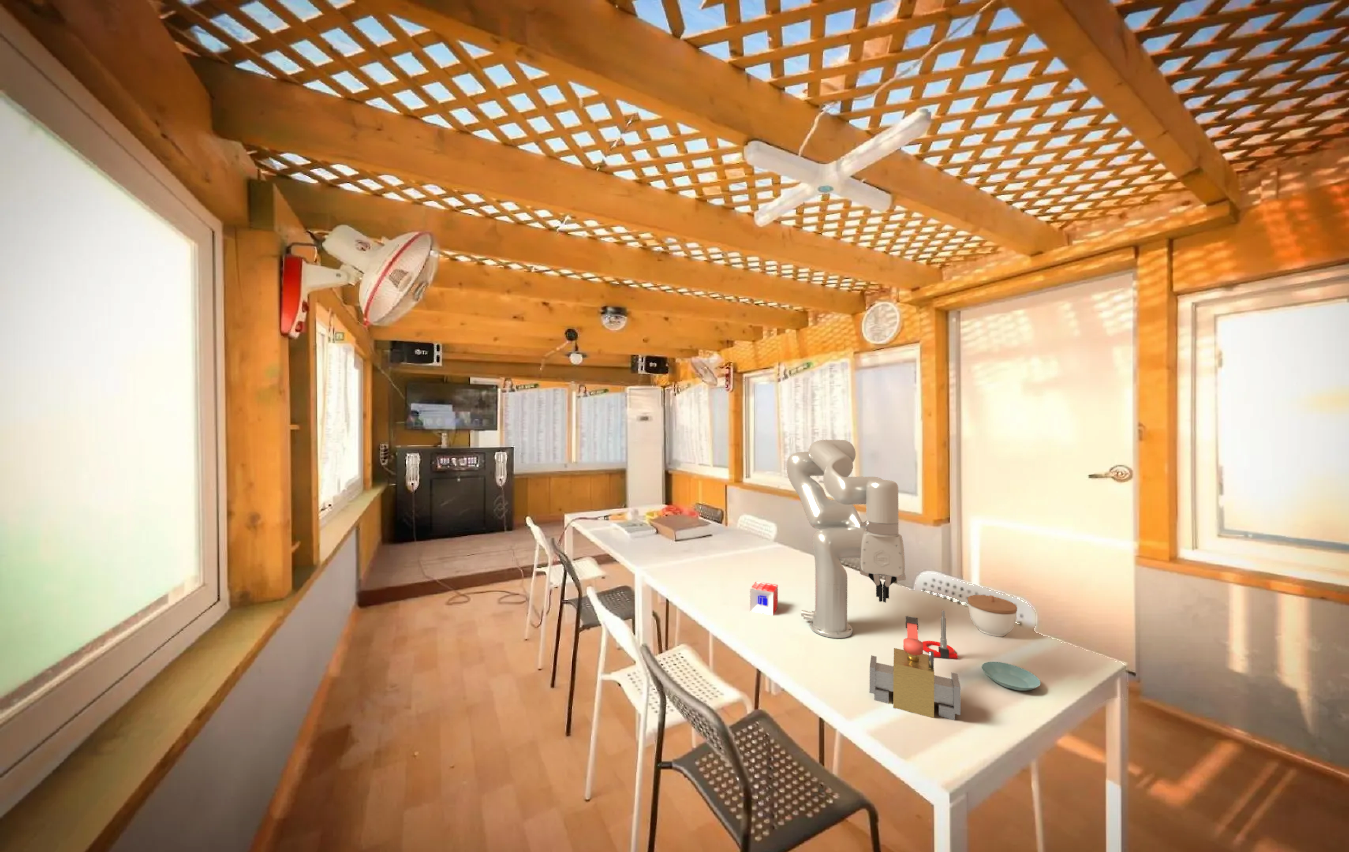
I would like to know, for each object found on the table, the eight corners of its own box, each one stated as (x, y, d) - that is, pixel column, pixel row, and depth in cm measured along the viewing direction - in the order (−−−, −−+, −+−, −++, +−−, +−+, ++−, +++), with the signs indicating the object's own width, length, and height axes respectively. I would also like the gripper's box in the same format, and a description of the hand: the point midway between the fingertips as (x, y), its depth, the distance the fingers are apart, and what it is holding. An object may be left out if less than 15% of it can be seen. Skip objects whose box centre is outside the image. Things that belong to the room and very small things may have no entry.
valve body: (869, 701, 104) (869, 643, 104) (871, 683, 112) (871, 629, 112) (960, 724, 96) (961, 661, 96) (956, 704, 104) (957, 645, 104)
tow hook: (915, 643, 134) (928, 657, 125) (915, 599, 134) (928, 610, 125) (946, 646, 133) (961, 660, 123) (946, 601, 133) (961, 612, 124)
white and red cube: (777, 607, 159) (777, 584, 159) (773, 615, 152) (773, 592, 152) (755, 603, 162) (755, 581, 162) (749, 611, 155) (749, 588, 155)
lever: (923, 656, 101) (923, 647, 101) (903, 652, 103) (903, 643, 103) (920, 626, 117) (920, 618, 117) (903, 623, 119) (903, 615, 119)
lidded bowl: (986, 620, 149) (986, 586, 149) (1027, 637, 137) (1027, 601, 137) (958, 625, 145) (958, 591, 145) (997, 643, 133) (997, 606, 133)
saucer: (1047, 686, 112) (1047, 676, 112) (1030, 702, 105) (1030, 693, 105) (992, 665, 121) (992, 656, 121) (973, 679, 114) (973, 670, 114)
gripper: (849, 528, 116) (850, 600, 116) (915, 534, 109) (916, 610, 109) (852, 523, 123) (852, 591, 122) (914, 528, 116) (915, 600, 116)
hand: (882, 600), depth 116 cm, fingers closed
